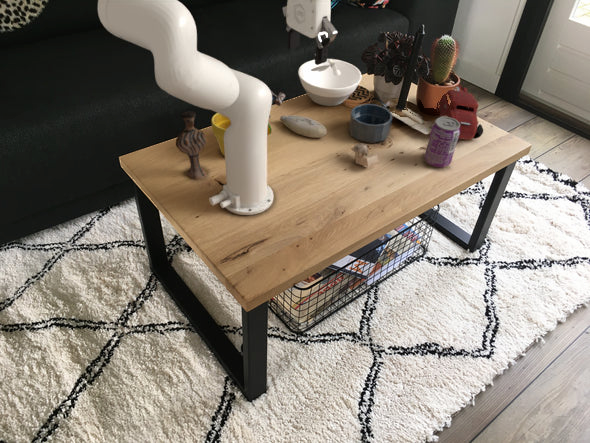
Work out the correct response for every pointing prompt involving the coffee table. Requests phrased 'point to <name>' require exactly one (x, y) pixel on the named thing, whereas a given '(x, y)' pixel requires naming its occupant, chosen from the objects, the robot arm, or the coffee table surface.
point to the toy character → (364, 155)
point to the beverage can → (442, 141)
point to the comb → (415, 121)
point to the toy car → (462, 112)
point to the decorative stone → (304, 126)
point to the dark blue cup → (370, 123)
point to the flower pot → (220, 129)
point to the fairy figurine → (326, 65)
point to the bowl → (329, 82)
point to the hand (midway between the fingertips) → (306, 55)
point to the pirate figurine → (277, 102)
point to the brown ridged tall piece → (192, 145)
